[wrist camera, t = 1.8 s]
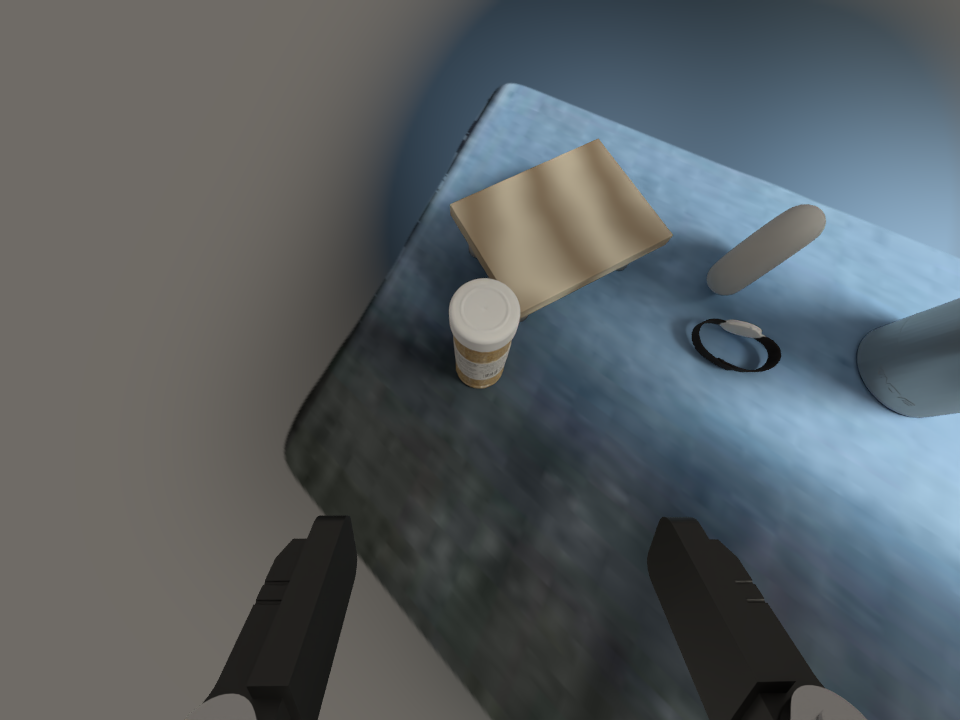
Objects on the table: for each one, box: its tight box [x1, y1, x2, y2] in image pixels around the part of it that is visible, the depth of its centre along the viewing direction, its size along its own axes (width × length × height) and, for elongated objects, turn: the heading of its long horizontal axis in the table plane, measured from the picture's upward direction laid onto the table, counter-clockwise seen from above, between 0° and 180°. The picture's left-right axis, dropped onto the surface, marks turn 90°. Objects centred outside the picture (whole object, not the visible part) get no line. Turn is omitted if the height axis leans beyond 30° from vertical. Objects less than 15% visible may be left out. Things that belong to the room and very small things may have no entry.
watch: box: [692, 319, 781, 372], centre depth 37 cm, size 8×5×4 cm, turn 67°
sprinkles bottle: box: [449, 278, 520, 388], centre depth 31 cm, size 5×5×13 cm
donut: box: [707, 204, 826, 295], centre depth 36 cm, size 10×4×10 cm, turn 124°
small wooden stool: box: [450, 139, 673, 322], centre depth 38 cm, size 16×12×6 cm
